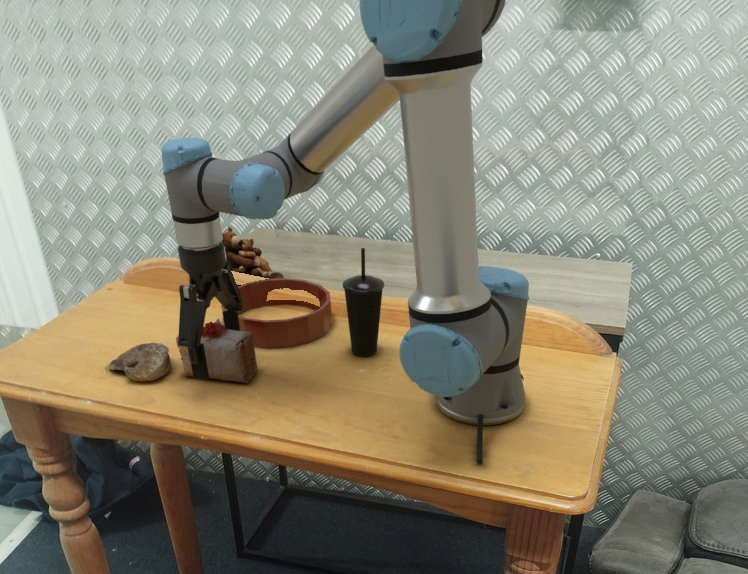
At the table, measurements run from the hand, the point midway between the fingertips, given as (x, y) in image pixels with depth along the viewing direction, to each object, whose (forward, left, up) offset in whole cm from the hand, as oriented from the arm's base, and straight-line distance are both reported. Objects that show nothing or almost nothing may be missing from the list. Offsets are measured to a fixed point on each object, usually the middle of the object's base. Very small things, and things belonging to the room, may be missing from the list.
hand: (218, 360), depth 131 cm
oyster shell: (-3, +15, -3) cm, 16 cm away
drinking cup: (+16, -23, -3) cm, 28 cm away
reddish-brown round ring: (+23, -2, -3) cm, 23 cm away
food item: (0, 0, -3) cm, 3 cm away
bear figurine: (+43, +14, -3) cm, 45 cm away
